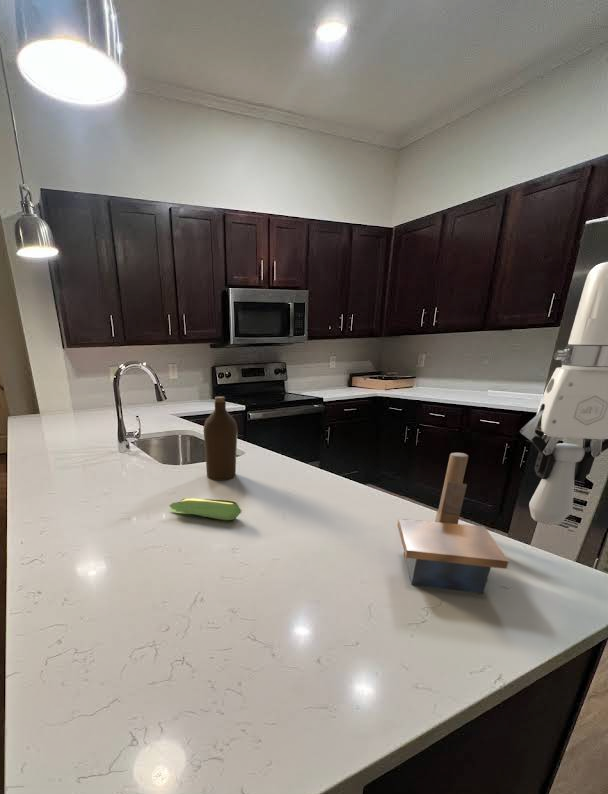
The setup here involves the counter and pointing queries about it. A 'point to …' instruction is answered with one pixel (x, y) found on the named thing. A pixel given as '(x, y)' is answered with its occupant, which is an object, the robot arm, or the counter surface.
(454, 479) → the wooden block
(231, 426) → the olive oil
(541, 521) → the salt shaker
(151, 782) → the counter surface
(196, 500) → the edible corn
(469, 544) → the stand
